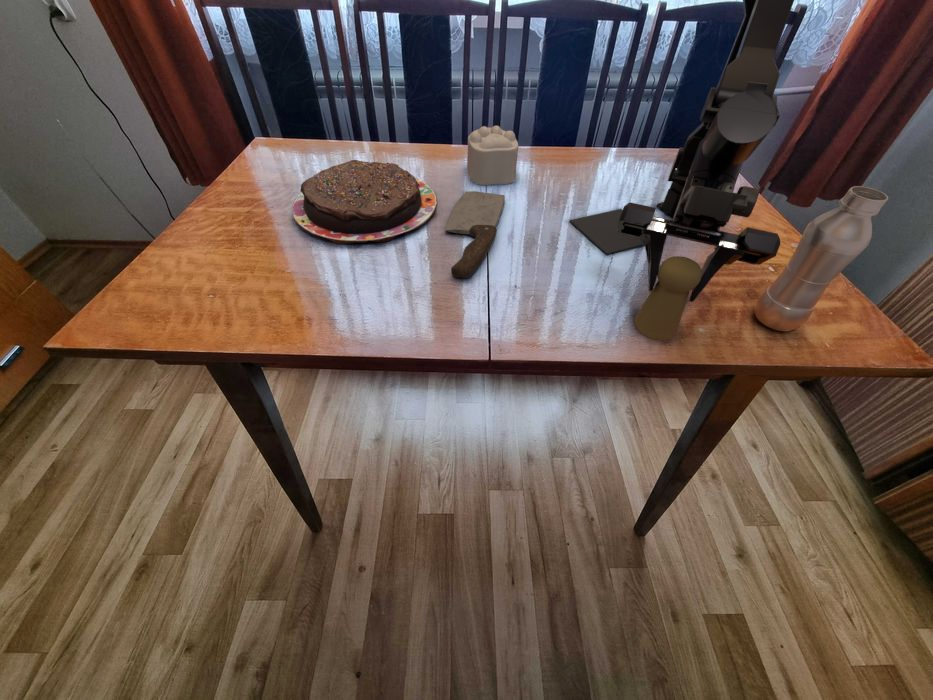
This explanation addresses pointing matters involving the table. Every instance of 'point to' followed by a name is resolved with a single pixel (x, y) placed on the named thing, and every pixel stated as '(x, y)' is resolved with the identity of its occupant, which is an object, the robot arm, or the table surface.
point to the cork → (668, 298)
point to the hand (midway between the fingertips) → (670, 296)
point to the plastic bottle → (820, 259)
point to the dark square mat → (606, 232)
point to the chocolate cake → (363, 202)
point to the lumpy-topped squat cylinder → (492, 156)
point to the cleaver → (475, 227)
